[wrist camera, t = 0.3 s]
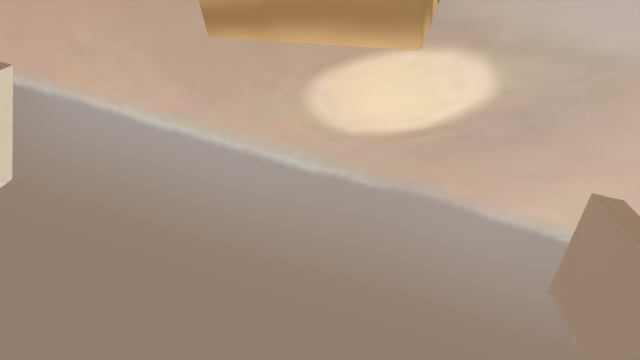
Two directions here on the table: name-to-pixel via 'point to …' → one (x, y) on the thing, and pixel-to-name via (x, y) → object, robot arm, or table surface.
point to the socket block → (323, 21)
